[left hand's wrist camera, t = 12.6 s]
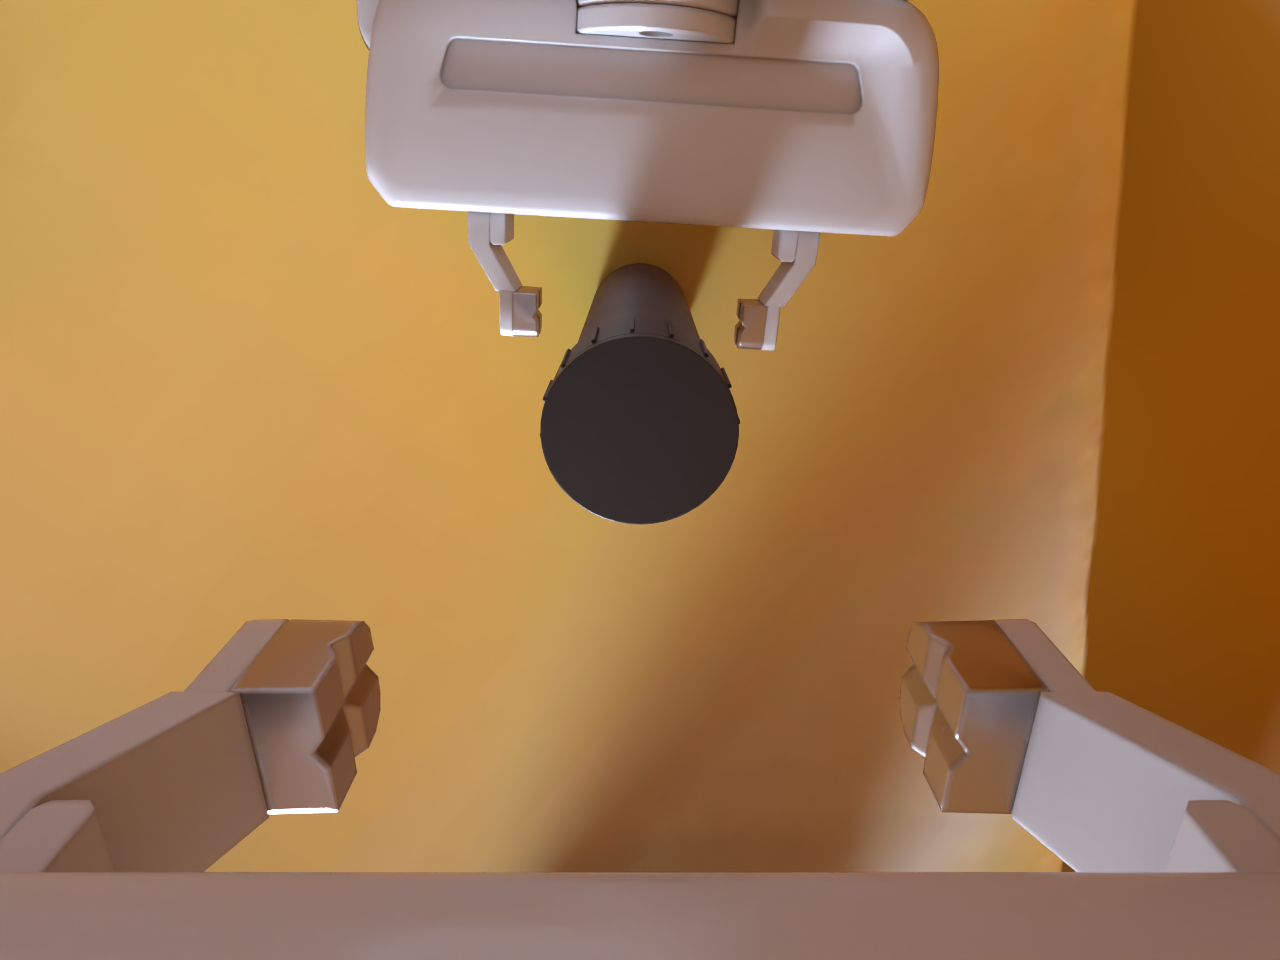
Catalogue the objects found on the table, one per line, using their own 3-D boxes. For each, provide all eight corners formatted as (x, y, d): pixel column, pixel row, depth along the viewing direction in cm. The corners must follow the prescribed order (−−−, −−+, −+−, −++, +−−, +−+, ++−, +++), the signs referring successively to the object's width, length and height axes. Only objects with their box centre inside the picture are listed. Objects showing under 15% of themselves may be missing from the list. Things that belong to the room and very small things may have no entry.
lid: (511, 392, 21) (496, 418, 19) (656, 277, 20) (658, 290, 18) (624, 523, 23) (622, 561, 21) (765, 423, 22) (779, 451, 19)
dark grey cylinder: (572, 303, 36) (516, 415, 19) (648, 243, 35) (655, 306, 18) (631, 376, 37) (625, 538, 21) (705, 320, 36) (760, 444, 20)
